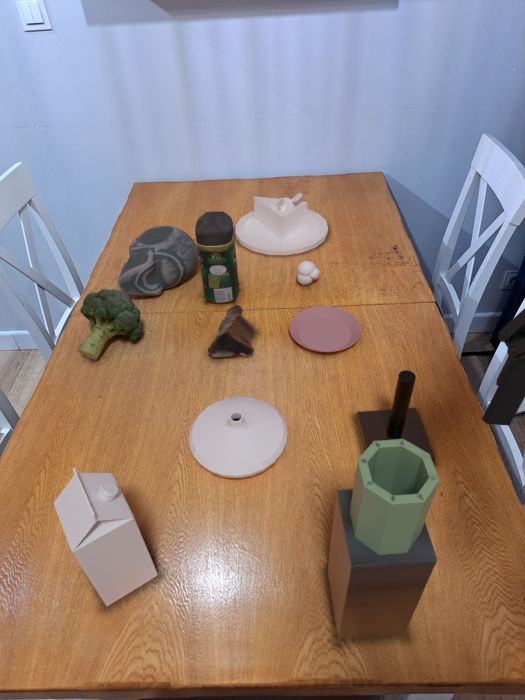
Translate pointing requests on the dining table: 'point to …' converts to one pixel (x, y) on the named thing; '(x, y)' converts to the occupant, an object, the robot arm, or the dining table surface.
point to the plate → (325, 329)
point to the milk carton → (104, 535)
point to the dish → (281, 227)
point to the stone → (233, 336)
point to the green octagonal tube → (392, 495)
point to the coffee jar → (217, 257)
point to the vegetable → (109, 319)
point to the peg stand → (396, 419)
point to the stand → (374, 579)
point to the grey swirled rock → (158, 261)
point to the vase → (238, 437)
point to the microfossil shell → (307, 272)
